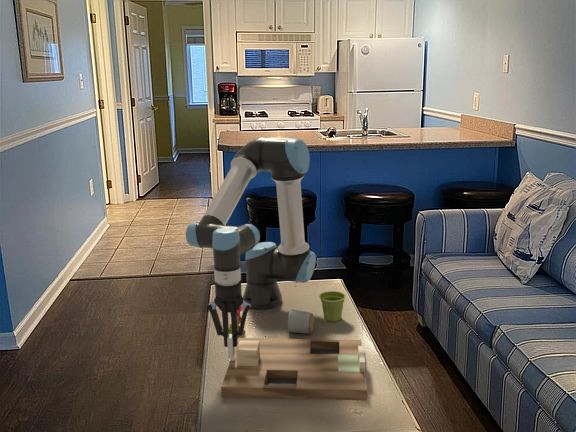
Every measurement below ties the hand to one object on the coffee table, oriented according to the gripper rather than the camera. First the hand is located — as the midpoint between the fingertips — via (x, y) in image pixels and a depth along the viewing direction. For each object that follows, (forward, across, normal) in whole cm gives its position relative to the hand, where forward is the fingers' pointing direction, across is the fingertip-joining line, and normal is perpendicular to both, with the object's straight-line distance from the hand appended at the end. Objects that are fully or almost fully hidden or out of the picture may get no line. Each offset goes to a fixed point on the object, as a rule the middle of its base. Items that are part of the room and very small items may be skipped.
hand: (231, 356), depth 165 cm
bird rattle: (+5, -3, +25) cm, 26 cm away
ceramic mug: (+5, +19, +27) cm, 34 cm away
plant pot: (+5, +30, +37) cm, 48 cm away
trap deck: (+4, +19, 0) cm, 20 cm away
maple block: (+1, +5, 0) cm, 5 cm away
